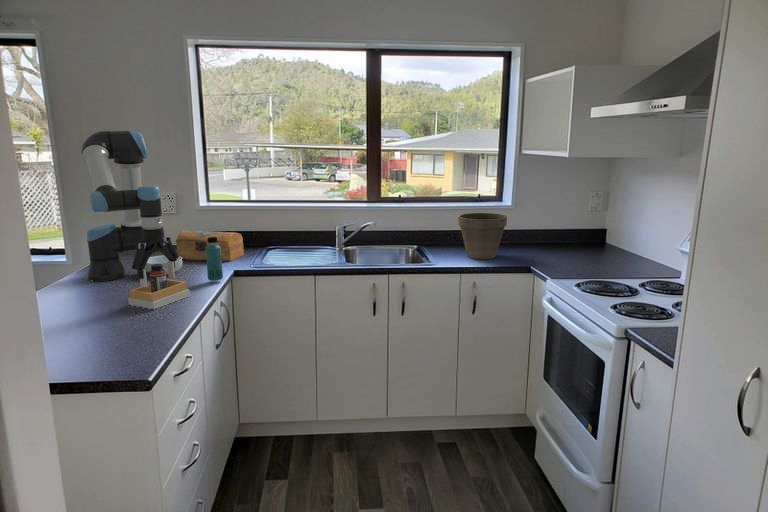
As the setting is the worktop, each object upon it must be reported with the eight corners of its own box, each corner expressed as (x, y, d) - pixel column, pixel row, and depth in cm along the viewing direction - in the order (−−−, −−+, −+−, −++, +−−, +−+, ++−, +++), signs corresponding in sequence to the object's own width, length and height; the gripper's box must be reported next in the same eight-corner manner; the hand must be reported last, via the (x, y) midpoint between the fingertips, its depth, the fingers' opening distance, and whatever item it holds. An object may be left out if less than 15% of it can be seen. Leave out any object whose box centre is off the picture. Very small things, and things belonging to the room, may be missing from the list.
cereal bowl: (169, 279, 230) (168, 264, 229) (136, 277, 234) (134, 262, 232) (190, 269, 247) (189, 255, 245) (159, 268, 250) (158, 253, 248)
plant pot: (448, 253, 278) (449, 213, 273) (486, 249, 288) (487, 210, 283) (474, 264, 256) (476, 220, 251) (514, 259, 266) (517, 217, 261)
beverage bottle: (207, 284, 222) (203, 239, 218) (208, 280, 228) (204, 236, 224) (223, 283, 224) (219, 238, 219) (223, 279, 230) (220, 235, 226)
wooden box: (175, 260, 266) (173, 233, 263) (194, 253, 282) (191, 227, 279) (228, 263, 260) (226, 236, 256) (244, 255, 275) (242, 230, 272)
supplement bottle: (148, 293, 200) (145, 265, 198) (163, 290, 204) (160, 262, 202) (155, 296, 196) (152, 267, 194) (171, 292, 201) (167, 264, 198)
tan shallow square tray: (119, 304, 197) (117, 289, 196) (156, 291, 213) (155, 277, 212) (154, 310, 190) (152, 294, 189) (190, 296, 206) (189, 282, 205)
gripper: (132, 234, 181) (138, 291, 186) (184, 222, 204) (189, 274, 209) (116, 232, 184) (123, 289, 189) (170, 221, 207) (175, 272, 212)
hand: (158, 281), depth 199 cm, fingers open, 13 cm apart
